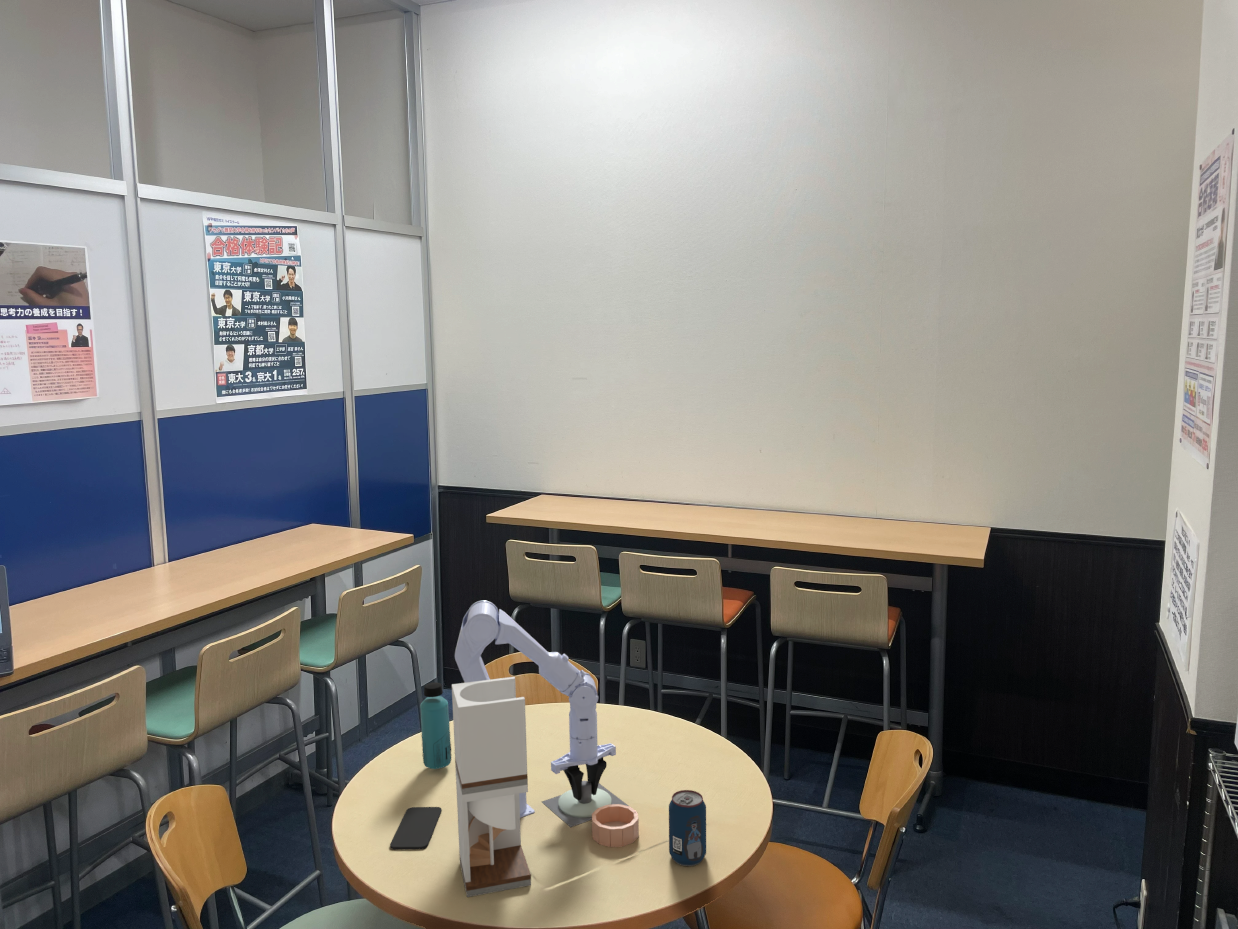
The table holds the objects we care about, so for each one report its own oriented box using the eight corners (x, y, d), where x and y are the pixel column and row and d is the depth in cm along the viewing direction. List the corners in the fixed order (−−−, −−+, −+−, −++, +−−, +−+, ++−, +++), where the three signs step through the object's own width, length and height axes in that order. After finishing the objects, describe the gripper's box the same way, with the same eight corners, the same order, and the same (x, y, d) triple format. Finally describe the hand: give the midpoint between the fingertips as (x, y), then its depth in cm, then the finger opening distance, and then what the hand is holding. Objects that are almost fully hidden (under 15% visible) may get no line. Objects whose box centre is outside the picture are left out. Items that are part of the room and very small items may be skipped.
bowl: (608, 853, 171) (608, 834, 171) (583, 832, 179) (583, 813, 178) (647, 838, 176) (647, 819, 176) (621, 818, 184) (621, 799, 183)
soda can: (683, 843, 175) (682, 784, 173) (713, 855, 170) (713, 795, 168) (661, 859, 169) (661, 799, 168) (692, 873, 165) (692, 811, 163)
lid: (575, 823, 181) (575, 803, 181) (548, 800, 190) (548, 780, 190) (621, 807, 187) (621, 787, 187) (593, 785, 196) (593, 766, 196)
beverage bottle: (449, 775, 202) (445, 690, 199) (419, 775, 203) (415, 690, 200) (455, 761, 209) (451, 679, 206) (426, 762, 209) (422, 679, 206)
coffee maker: (466, 897, 159) (458, 707, 154) (459, 863, 169) (451, 684, 164) (531, 885, 162) (524, 698, 157) (520, 852, 172) (514, 676, 167)
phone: (443, 806, 189) (426, 847, 174) (443, 810, 189) (427, 851, 174) (407, 807, 189) (388, 847, 174) (407, 810, 189) (388, 851, 174)
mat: (570, 829, 180) (570, 827, 180) (541, 803, 190) (541, 801, 190) (629, 807, 188) (629, 806, 188) (598, 784, 198) (598, 782, 198)
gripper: (562, 750, 179) (564, 814, 181) (623, 731, 187) (624, 793, 189) (545, 737, 185) (547, 799, 187) (605, 719, 193) (606, 779, 195)
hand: (584, 795), depth 188 cm, fingers open, 3 cm apart
